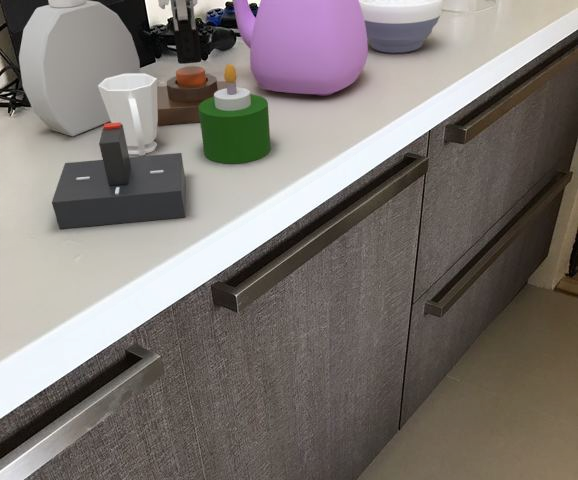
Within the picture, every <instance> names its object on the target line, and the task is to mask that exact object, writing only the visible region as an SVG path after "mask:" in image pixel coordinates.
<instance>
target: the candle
mask: <svg viewBox="0 0 578 480" xmlns="http://www.w3.org/2000/svg"><path fill="white" fill-rule="evenodd" d="M223 76H224V81H226V84H227V88H225V89H221V90H219V91H217V92H215V93H214V97H211V98H209V99H206V100H204V101H203V102H201V103H200V104H199V107H198V108H199V116H200V122H199V123H200V132H201V138H202V146H203V152H204V156H205V158H207V159H208V160H209V161H212V162H216V163H220V164H234V165H235V164H246V163H250V162H254V161H257V160H261V159H262V158H264V157H266V156H267V155H268V154H269V153H270V151H271V133H270V118H269V117H270V116H269V102H268V100H267V99H266V98H265V97H263V96H261V95H257V94H253V93H251V91H250V90H249V89H248V88H245V87H237V77H238V76H237V71H236V68H235V67H234V65H233V64H232V63H228V64H227V65H226V67H225V69H224V73H223Z"/></svg>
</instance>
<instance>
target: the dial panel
mask: <svg viewBox="0 0 578 480" xmlns="http://www.w3.org/2000/svg"><path fill="white" fill-rule="evenodd" d="M129 158H130V163H131V167H130V174H129V180H128V184H124V185H113V186H109V184H108V180H107V176H106V171H105V167H104V163H103V159H95V160H86V161H85V160H84V161H73V162H65V163H64V164H63V167H62V171H61V174H60V177H59V180H58V183H57V186H56V189H55V191H54V194H53V197H52V201H51V205H52V208H53V211H54V215H55V218H56V222H57V225H58V228H59V230H63V229H65V230H66V229H74V228H75V229H76V228H85V227H96V226H107V225H116V224H117V225H119V224H127V223H128V224H129V223H138V222H140V223H141V222H150V221H159V220H171V219H182V218H183V219H184V218H186V173H185V168H184V160H183V153H182V152H175V153H163V154H154V155H153V154H152V155H145V156H129Z"/></svg>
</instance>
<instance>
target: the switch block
mask: <svg viewBox="0 0 578 480" xmlns="http://www.w3.org/2000/svg"><path fill="white" fill-rule="evenodd" d="M205 75H206V83H204V84H201V85H197V86H179V85H177V78H176V76H173V77H171V78H169V79H168V80H166V85H161V86H160V85H157V109H158V123H157V127H159V126H160V127H161V126H172V125H181V124H184V125H185V124H195V123H200V116H199V108H198V107H199V104H200V103H201V102H203V101H204V100H206V99H209V98H211V97H214V93H215V92H217V91H219V90H221V89H225V88H227V84H226V81H225V80H222V81H221V80H220V81H218V79H217V76H215V75H212V74H209V73H205Z"/></svg>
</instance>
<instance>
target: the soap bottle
mask: <svg viewBox="0 0 578 480" xmlns="http://www.w3.org/2000/svg"><path fill="white" fill-rule="evenodd" d="M47 1H48V2H47V3H48V4H47V5H43V6H38V7H36V9H35V10H34V11H33V13H32V14H31V16H30V18H29V20H28V21H27V23H26V24H25V26H24V27H23V31H22V37H21V43H20V49H19V54H18V62H19V69H20V76H21V77H20V78H21V83H22V89H23V91H24V93H25V96H26V98H27V100H28V102H29V104H30V106H31V108H32V111H33V113H34V114H35V115H36V116H37V117H38V118H39V120H41V121H42V123H44V124H45V126H46V127H47V128H48V129H49V130H50V131H54V132H57V133H60V134H64V135H66V136H70V137H75V136H78V135H81V134H83V133H86V132H88V131H90V130H93V129H95V128H98V127H100V126H104V124H107V123H111V121H110V118H109V115H108V112H107V109H106V107H105V104H104V101H103V99H102V96H101V93H100V91H99V88H98V85H99V84H100V83H101V82H102V81H103V80H104V79H106V78H109V77H113V76H117V75H121V74H130V73H141V65H140V64H141V63H140V57H139V55H138V51H137V48H136V45H135V41H134V40H133V36H132V33H131V32H130V31H129V30H128V28H127V26H126V25H125V23H124V22H123V21H122V19H121V18H120V16H119V14H118V13H116V12H115V11H113V10H112V9H110V8H109V7H107V6H106V5H105V4H103V3H102V2H100V1H94V0H47Z"/></svg>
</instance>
